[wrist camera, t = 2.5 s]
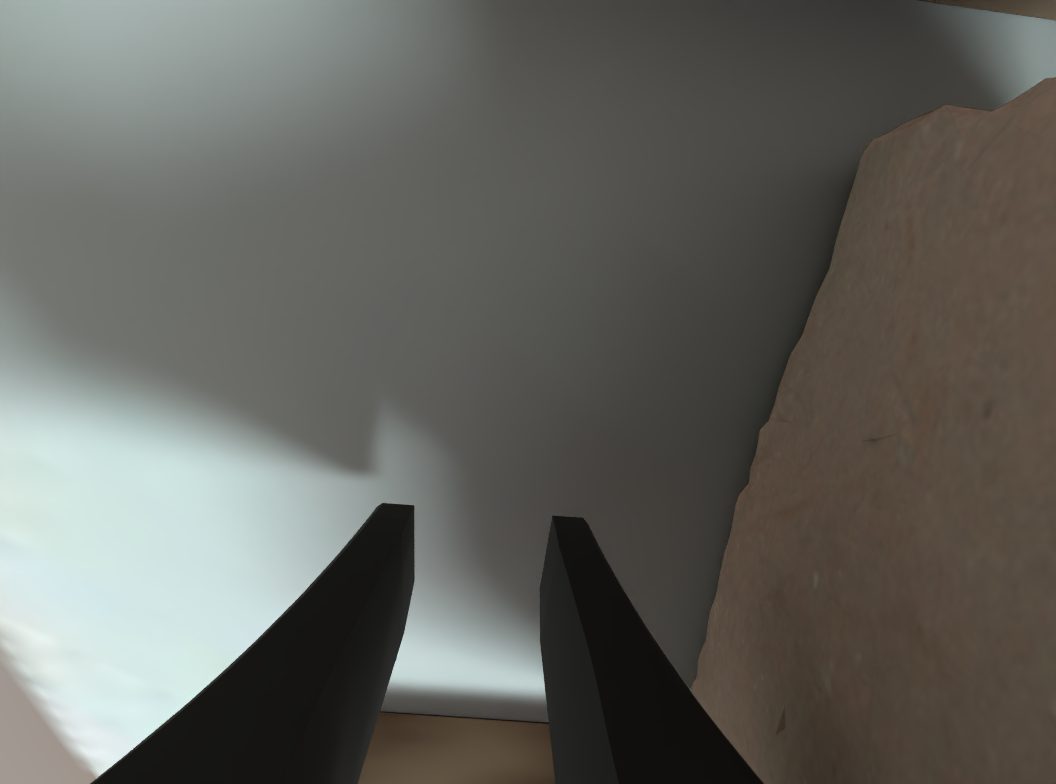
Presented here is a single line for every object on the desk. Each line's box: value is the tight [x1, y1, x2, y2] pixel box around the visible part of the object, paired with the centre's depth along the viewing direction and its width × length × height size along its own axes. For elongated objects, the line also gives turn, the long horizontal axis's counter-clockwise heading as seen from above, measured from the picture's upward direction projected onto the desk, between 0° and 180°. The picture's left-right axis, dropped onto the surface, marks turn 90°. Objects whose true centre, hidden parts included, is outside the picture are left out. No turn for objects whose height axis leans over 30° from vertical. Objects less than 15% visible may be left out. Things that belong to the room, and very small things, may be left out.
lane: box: [358, 0, 1056, 784], centre depth 10 cm, size 20×22×3 cm
